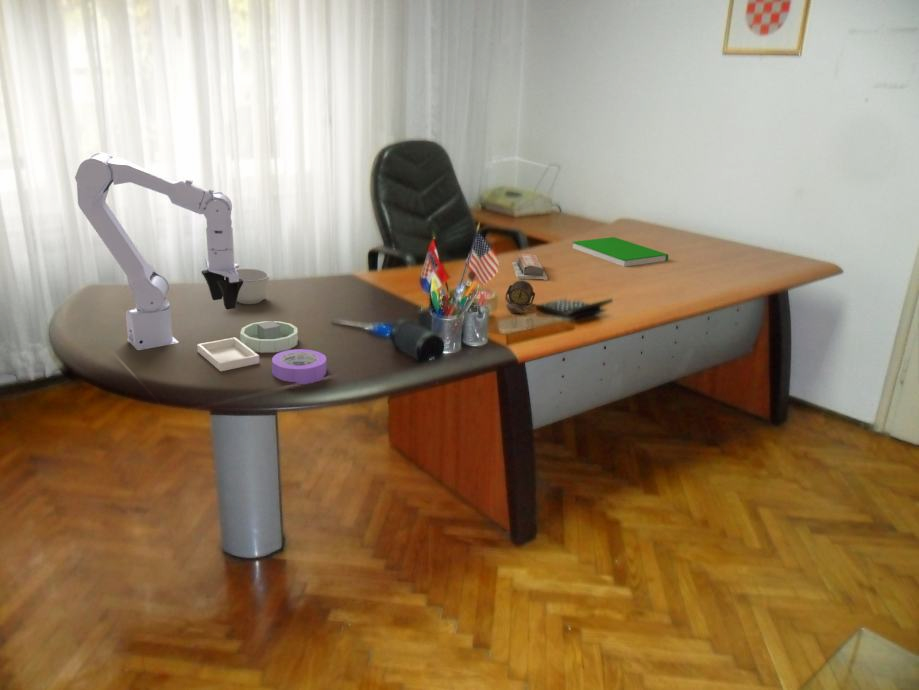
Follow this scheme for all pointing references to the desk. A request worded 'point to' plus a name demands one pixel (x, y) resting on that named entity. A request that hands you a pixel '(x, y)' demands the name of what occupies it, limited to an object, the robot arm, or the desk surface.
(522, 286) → the brown desk clock
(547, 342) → the desk surface
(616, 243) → the book
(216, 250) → the robot arm
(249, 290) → the teacup
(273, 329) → the grey cube
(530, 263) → the packaged product
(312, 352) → the masking tape
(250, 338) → the bowl
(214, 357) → the parts tray
